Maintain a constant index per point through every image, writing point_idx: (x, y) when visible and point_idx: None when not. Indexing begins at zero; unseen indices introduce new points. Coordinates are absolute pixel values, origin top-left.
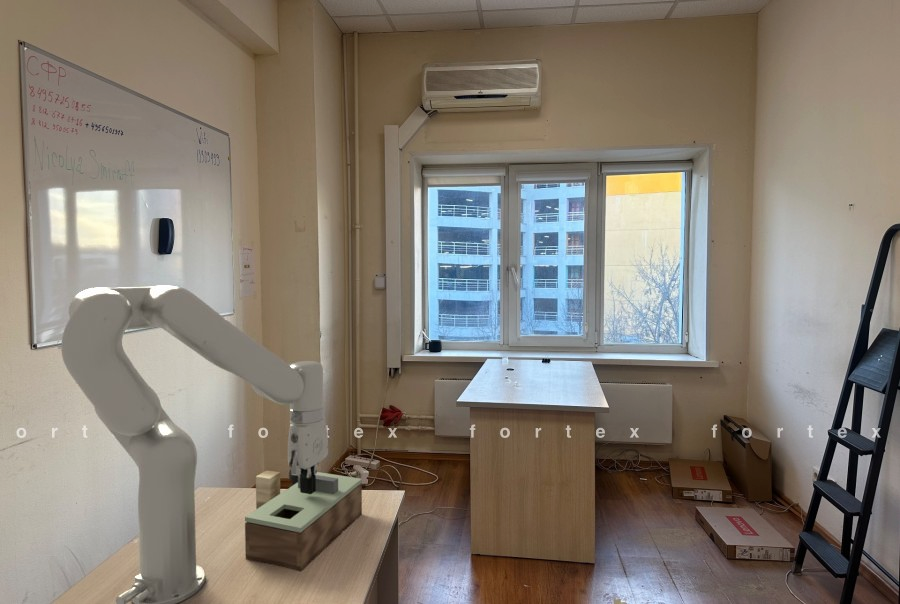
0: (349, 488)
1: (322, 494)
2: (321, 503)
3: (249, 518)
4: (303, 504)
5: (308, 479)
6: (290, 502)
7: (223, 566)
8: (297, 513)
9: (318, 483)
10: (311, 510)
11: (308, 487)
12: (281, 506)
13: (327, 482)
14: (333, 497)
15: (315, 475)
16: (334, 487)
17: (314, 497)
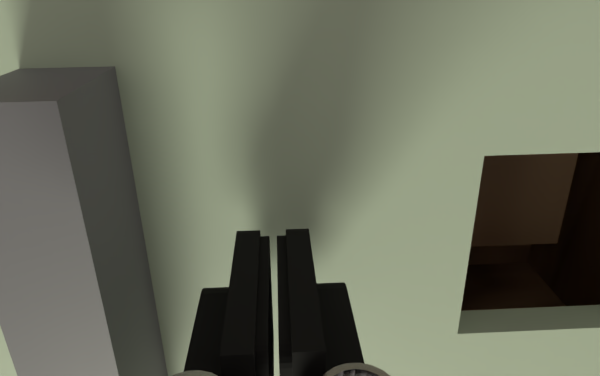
0: None
1: (180, 169)
2: (356, 62)
3: None
4: (424, 205)
5: (329, 367)
6: (416, 315)
7: None
8: None
9: (120, 284)
10: (520, 67)
11: (320, 296)
12: (491, 331)
13: (87, 189)
14: (185, 20)
15: (226, 351)
16: (73, 81)
17: (266, 200)
